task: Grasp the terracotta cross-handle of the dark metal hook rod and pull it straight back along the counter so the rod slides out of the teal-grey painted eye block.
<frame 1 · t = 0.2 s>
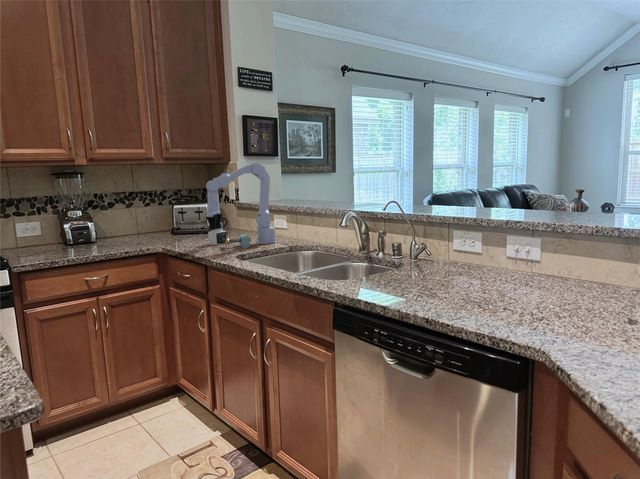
hand: (215, 228, 247), 10 cm above the worktop, fingers open, 7 cm apart
eye block: (244, 246, 249), on the worktop
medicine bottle: (217, 244, 259), on the worktop
hook rod: (238, 240, 247), point 3 cm above the worktop, slide at 0.0 cm
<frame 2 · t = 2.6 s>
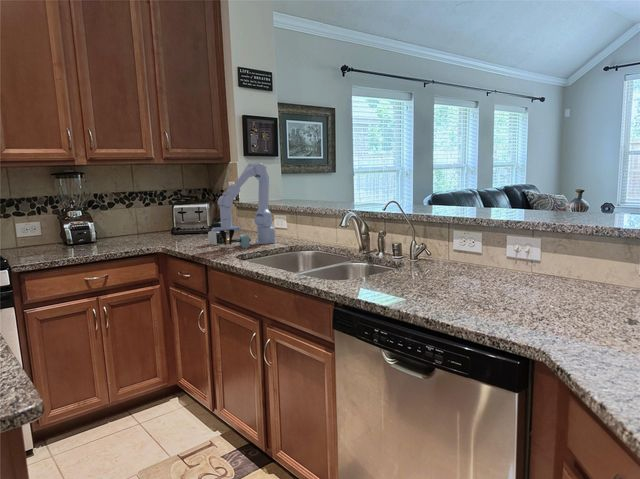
hand: (227, 244, 243), 2 cm above the worktop, fingers closed on hook rod, 2 cm apart
hook rod: (238, 240, 247), point 3 cm above the worktop, slide at 0.0 cm, touching gripper
everything else where it was.
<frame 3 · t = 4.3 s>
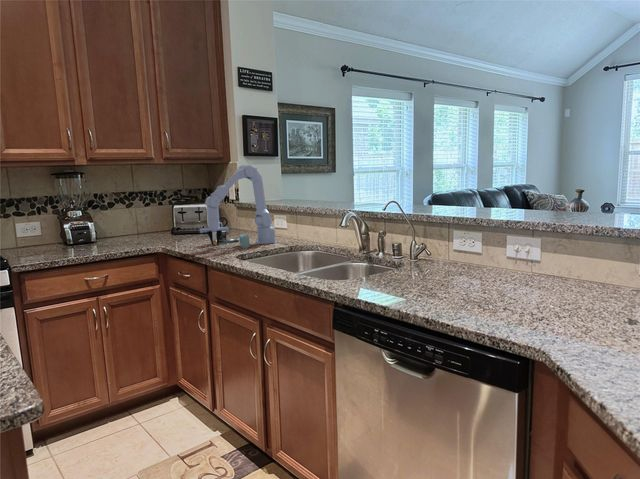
hand: (215, 245, 241), 2 cm above the worktop, fingers closed on hook rod, 2 cm apart
hook rod: (226, 241, 246), point 3 cm above the worktop, slide at 6.4 cm, touching gripper
everything else where it was.
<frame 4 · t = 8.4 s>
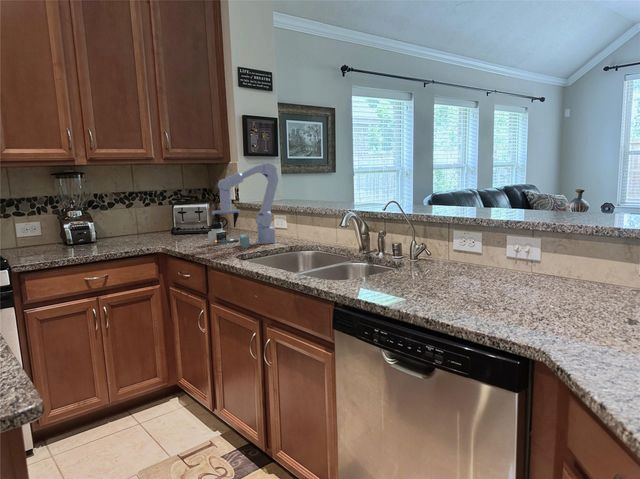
hand: (227, 227, 247), 10 cm above the worktop, fingers open, 7 cm apart
hook rod: (225, 241, 246), point 3 cm above the worktop, slide at 6.5 cm
everything else where it was.
at the end: hook rod slide at 6.5 cm; the gripper is holding nothing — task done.
